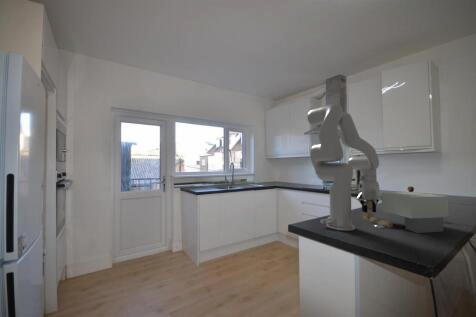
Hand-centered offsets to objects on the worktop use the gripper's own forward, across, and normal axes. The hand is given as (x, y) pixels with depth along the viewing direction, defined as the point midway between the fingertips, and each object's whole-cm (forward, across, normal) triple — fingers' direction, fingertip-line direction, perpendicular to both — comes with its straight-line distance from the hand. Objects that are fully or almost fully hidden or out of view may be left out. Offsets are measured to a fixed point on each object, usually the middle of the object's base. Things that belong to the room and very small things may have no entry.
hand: (368, 211), depth 117 cm
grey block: (+5, +12, -14) cm, 19 cm away
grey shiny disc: (+5, -4, -11) cm, 13 cm away
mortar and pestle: (+5, +30, +2) cm, 31 cm away
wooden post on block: (+5, 0, -6) cm, 8 cm away
